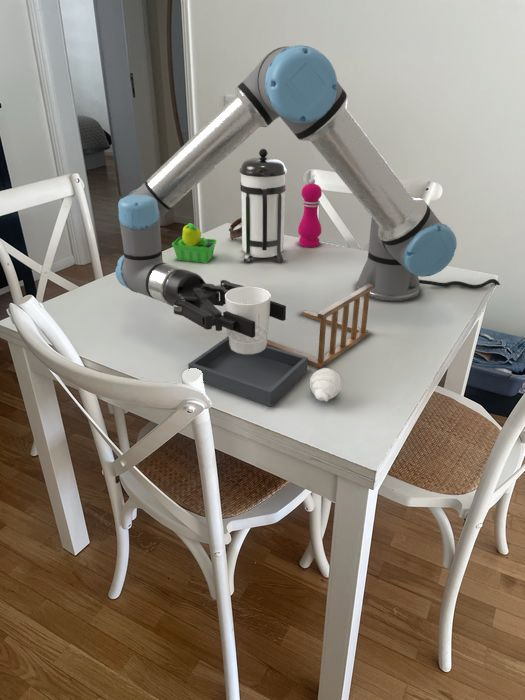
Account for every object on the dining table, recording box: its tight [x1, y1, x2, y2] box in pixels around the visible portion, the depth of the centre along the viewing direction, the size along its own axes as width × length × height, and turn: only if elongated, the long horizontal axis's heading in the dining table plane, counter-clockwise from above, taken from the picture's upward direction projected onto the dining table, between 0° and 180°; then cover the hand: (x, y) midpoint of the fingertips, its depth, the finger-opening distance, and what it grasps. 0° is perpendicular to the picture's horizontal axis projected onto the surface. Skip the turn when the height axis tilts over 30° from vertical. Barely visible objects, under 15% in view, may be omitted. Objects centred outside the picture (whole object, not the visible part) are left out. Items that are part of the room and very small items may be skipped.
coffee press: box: [239, 148, 288, 264], centre depth 149 cm, size 17×16×30 cm
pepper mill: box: [297, 177, 323, 248], centre depth 163 cm, size 7×7×20 cm
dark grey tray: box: [187, 335, 309, 407], centre depth 100 cm, size 18×14×3 cm
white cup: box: [224, 285, 272, 354], centre depth 95 cm, size 8×8×10 cm
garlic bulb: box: [309, 367, 342, 402], centre depth 91 cm, size 6×6×5 cm
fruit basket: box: [171, 222, 217, 264], centre depth 153 cm, size 11×9×11 cm
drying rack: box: [266, 284, 373, 369], centre depth 110 cm, size 18×16×11 cm
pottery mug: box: [228, 217, 242, 241], centre depth 171 cm, size 12×10×8 cm
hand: (269, 321), depth 92 cm, fingers closed on white cup, 8 cm apart
